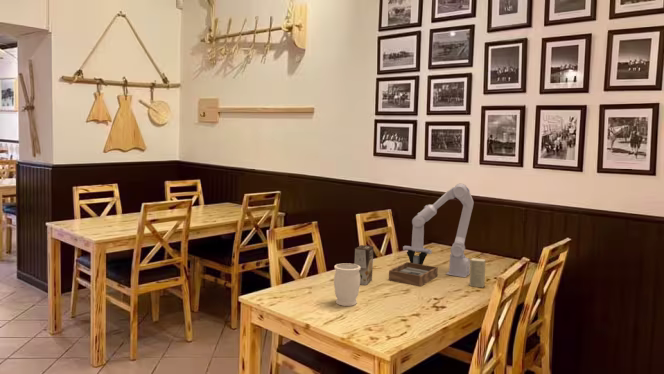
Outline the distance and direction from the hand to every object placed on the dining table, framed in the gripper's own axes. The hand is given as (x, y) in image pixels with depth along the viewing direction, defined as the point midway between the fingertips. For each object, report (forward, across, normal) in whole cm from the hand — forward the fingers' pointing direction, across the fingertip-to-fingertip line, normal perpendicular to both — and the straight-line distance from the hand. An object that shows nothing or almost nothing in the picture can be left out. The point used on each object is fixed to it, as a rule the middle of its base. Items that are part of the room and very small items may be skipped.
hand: (416, 266), depth 267 cm
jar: (+2, -2, -65) cm, 65 cm away
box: (+2, +5, -15) cm, 16 cm away
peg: (+2, 0, 0) cm, 2 cm away
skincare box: (+2, +33, -8) cm, 34 cm away
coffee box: (+2, -11, -35) cm, 37 cm away
